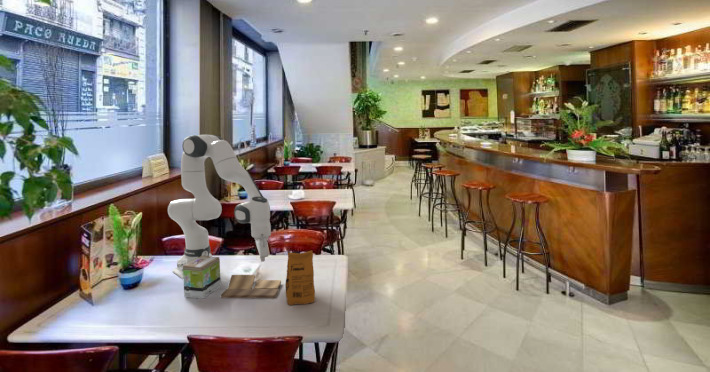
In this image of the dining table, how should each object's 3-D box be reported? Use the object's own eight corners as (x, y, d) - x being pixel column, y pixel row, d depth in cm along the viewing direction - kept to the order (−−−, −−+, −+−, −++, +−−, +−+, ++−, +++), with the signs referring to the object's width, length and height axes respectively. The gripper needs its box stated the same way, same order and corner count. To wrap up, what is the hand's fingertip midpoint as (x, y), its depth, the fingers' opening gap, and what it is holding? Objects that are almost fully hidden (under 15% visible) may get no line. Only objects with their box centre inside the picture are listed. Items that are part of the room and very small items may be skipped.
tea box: (204, 299, 185) (202, 267, 183) (183, 297, 187) (181, 265, 185) (221, 286, 199) (219, 256, 197) (202, 284, 201) (200, 254, 199)
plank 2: (253, 290, 194) (253, 288, 193) (258, 282, 201) (258, 280, 201) (277, 290, 193) (277, 288, 193) (281, 282, 201) (280, 280, 201)
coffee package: (285, 297, 186) (284, 249, 183) (313, 294, 189) (312, 247, 185) (286, 306, 177) (284, 256, 173) (315, 304, 179) (314, 254, 175)
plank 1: (228, 290, 194) (227, 288, 193) (232, 276, 200) (231, 274, 199) (251, 290, 194) (251, 289, 193) (255, 276, 200) (254, 274, 199)
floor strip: (221, 297, 186) (220, 295, 186) (226, 291, 193) (226, 288, 193) (274, 297, 185) (274, 295, 185) (278, 291, 192) (278, 289, 192)
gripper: (270, 237, 186) (272, 267, 189) (265, 225, 205) (266, 252, 208) (256, 238, 184) (257, 268, 187) (252, 226, 203) (253, 254, 206)
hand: (262, 260), depth 198 cm, fingers closed
